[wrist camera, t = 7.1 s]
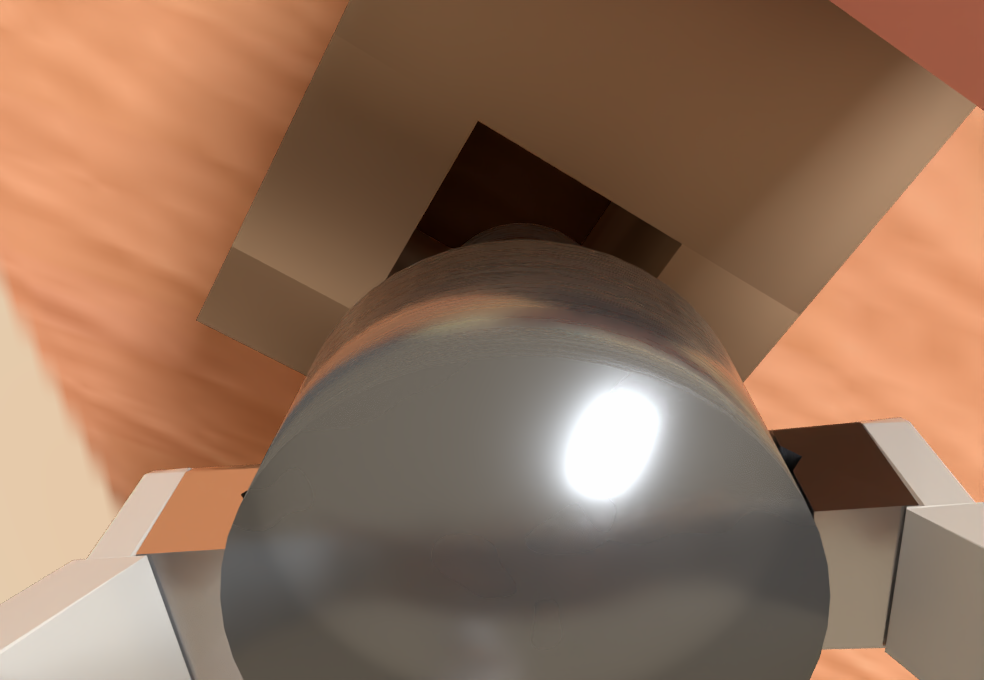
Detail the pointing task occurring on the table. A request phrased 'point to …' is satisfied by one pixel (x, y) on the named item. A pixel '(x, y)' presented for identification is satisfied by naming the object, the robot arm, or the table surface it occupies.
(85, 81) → the table surface
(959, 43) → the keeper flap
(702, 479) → the grey domed cylinder
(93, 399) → the table surface
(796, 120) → the block
